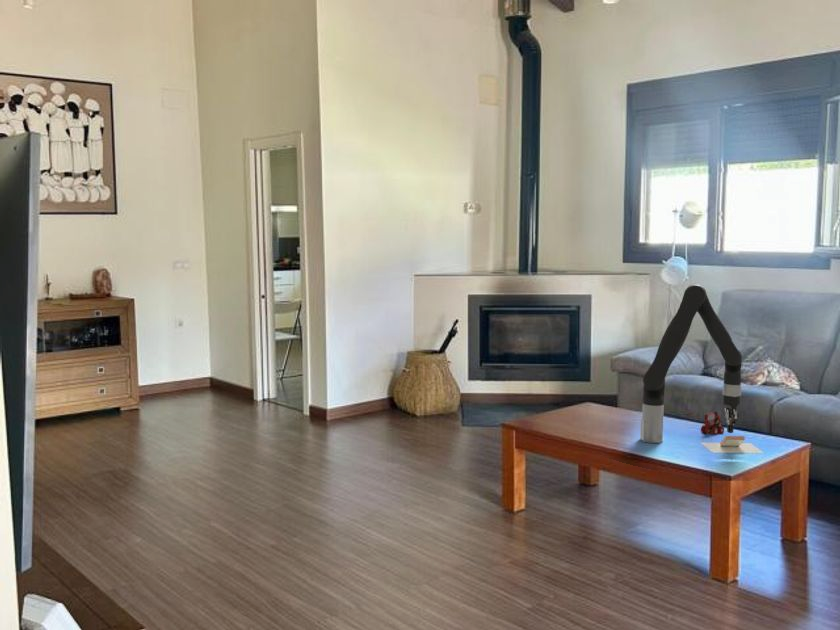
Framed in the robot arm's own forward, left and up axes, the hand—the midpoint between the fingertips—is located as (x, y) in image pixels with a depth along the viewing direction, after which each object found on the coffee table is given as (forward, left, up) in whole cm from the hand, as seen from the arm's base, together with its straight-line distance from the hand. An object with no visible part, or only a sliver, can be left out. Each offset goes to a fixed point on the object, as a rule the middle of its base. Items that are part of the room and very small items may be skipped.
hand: (730, 432), depth 347 cm
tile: (0, 0, -5) cm, 5 cm away
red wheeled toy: (+1, +25, -7) cm, 26 cm away
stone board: (0, -3, -7) cm, 8 cm away
